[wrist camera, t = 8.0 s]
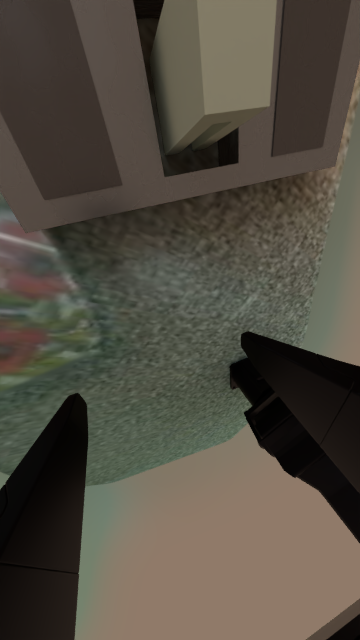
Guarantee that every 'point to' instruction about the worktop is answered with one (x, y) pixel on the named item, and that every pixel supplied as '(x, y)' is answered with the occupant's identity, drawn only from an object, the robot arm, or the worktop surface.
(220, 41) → the beige slotted block
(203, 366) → the worktop surface
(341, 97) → the grey slotted tray
